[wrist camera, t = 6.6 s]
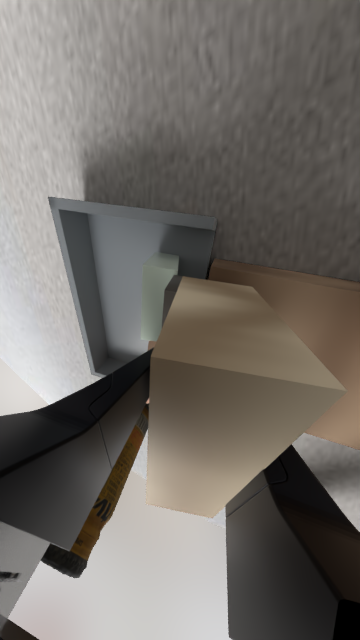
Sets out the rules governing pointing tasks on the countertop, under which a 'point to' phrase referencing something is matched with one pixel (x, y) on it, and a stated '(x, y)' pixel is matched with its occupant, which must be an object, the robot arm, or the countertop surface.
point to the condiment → (99, 507)
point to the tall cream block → (225, 394)
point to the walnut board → (314, 331)
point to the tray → (121, 268)
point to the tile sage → (155, 292)
